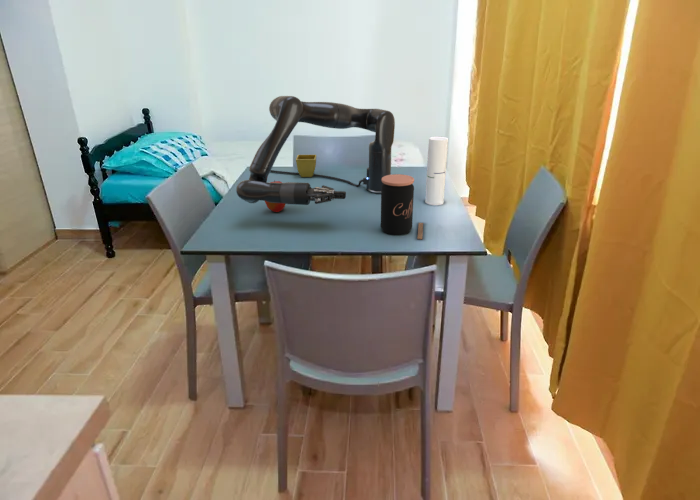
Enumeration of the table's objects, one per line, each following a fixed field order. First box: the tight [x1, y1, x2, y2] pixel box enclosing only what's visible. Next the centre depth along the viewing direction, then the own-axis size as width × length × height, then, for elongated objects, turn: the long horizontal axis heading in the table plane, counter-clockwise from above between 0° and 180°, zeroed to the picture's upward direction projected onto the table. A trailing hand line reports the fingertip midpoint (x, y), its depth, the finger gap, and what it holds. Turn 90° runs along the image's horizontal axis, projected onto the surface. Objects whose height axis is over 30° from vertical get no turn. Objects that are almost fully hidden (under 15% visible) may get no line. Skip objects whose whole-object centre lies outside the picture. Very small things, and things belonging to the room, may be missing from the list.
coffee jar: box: [380, 173, 415, 236], centre depth 163 cm, size 11×11×18 cm
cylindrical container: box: [424, 135, 449, 206], centre depth 187 cm, size 7×7×25 cm
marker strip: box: [416, 222, 424, 241], centre depth 165 cm, size 2×14×1 cm, turn 171°
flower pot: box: [295, 154, 317, 178], centre depth 226 cm, size 9×9×9 cm
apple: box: [264, 180, 286, 213], centre depth 183 cm, size 9×9×12 cm
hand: (345, 195), depth 164 cm, fingers closed
